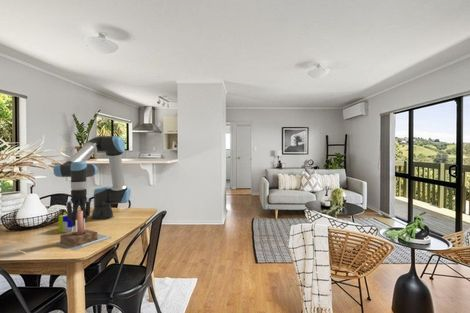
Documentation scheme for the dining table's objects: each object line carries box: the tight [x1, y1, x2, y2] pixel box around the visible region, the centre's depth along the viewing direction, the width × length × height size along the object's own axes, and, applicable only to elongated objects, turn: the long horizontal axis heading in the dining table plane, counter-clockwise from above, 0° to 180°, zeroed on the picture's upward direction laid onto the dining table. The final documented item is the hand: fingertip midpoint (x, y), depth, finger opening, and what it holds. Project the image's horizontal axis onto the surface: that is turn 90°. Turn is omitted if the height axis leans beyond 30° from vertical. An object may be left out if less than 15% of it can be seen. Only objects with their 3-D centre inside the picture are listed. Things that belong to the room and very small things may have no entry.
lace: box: [81, 236, 110, 246], centre depth 142 cm, size 16×1×1 cm, turn 153°
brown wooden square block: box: [59, 228, 98, 247], centre depth 142 cm, size 13×13×4 cm
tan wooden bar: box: [75, 209, 83, 236], centre depth 142 cm, size 4×4×16 cm
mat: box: [53, 233, 113, 251], centre depth 144 cm, size 22×20×1 cm
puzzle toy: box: [58, 213, 74, 233], centre depth 166 cm, size 10×10×10 cm
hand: (79, 230), depth 142 cm, fingers closed on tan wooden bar, 4 cm apart
